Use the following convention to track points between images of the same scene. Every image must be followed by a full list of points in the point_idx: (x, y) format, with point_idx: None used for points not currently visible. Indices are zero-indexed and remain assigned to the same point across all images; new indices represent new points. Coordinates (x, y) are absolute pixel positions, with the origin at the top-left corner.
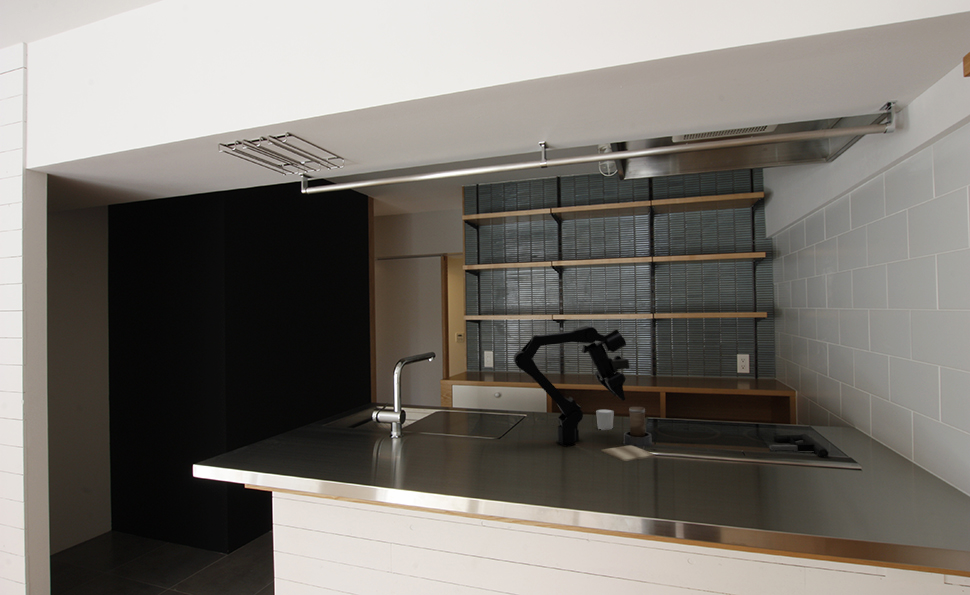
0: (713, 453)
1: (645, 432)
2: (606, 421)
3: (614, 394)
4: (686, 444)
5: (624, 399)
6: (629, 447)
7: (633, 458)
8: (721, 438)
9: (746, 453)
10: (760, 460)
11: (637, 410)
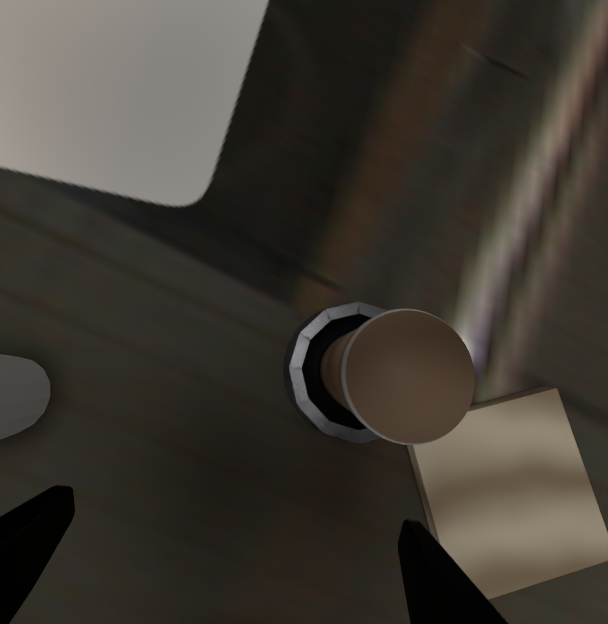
0: (492, 152)
1: (338, 317)
2: (10, 410)
3: (58, 534)
4: (368, 176)
5: (420, 530)
6: (443, 453)
7: (596, 504)
8: (318, 23)
9: (505, 59)
10: (579, 67)
11: (470, 398)
